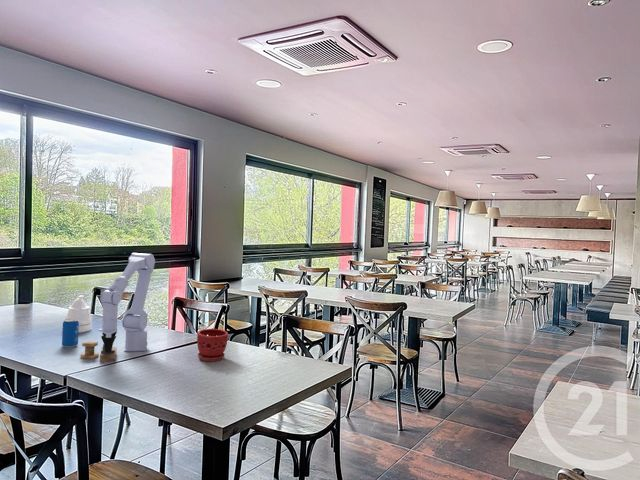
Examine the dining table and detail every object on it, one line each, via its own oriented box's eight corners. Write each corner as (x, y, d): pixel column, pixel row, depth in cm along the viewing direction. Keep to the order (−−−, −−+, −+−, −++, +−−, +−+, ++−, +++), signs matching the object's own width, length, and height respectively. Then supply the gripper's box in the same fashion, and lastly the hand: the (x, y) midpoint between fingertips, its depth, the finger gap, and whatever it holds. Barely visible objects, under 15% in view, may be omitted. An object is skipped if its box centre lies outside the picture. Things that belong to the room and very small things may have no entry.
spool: (99, 354, 206) (99, 340, 206) (97, 358, 200) (98, 344, 200) (81, 354, 204) (81, 340, 204) (79, 359, 197) (80, 345, 197)
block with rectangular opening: (116, 353, 208) (116, 346, 208) (115, 361, 197) (115, 354, 197) (101, 354, 206) (101, 347, 206) (99, 362, 195) (100, 355, 195)
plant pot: (190, 360, 205) (191, 332, 205) (207, 353, 217) (209, 327, 217) (215, 365, 200) (216, 336, 200) (232, 357, 213) (233, 331, 212)
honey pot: (96, 329, 249) (97, 295, 248) (72, 333, 238) (74, 298, 237) (82, 325, 255) (83, 292, 255) (58, 329, 245) (60, 295, 244)
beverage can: (71, 348, 212) (72, 322, 212) (58, 347, 213) (59, 320, 213) (81, 345, 218) (82, 319, 218) (68, 343, 220) (69, 318, 219)
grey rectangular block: (111, 357, 202) (112, 342, 202) (111, 360, 199) (112, 344, 199) (102, 358, 201) (103, 342, 200) (102, 360, 197) (102, 345, 197)
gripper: (100, 315, 205) (99, 346, 205) (98, 322, 191) (96, 355, 192) (118, 315, 207) (116, 345, 208) (117, 322, 194) (115, 355, 194)
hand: (108, 350), depth 200 cm, fingers open, 5 cm apart
